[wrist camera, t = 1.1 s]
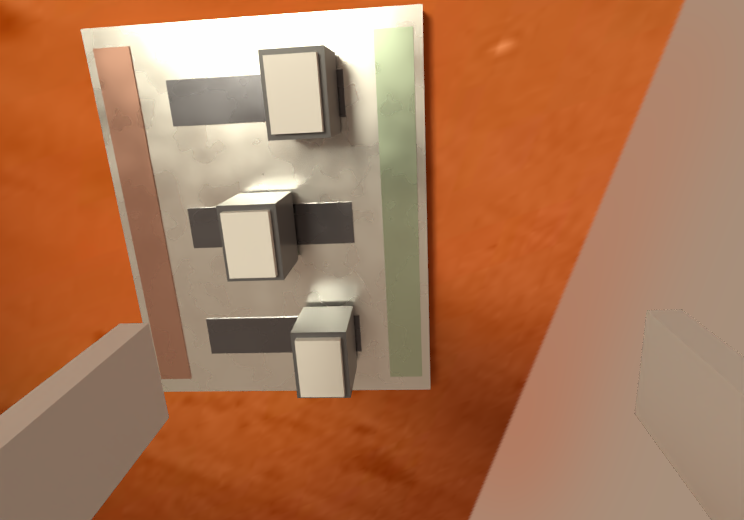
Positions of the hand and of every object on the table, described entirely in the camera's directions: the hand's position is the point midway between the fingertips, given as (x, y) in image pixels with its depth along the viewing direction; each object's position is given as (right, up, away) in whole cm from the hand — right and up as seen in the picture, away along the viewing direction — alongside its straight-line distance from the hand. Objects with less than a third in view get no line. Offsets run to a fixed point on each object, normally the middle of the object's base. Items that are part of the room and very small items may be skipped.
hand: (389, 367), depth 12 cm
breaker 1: (-6, +4, +16) cm, 18 cm away
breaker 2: (-4, +11, +14) cm, 18 cm away
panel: (-6, +5, +18) cm, 20 cm away
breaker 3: (-3, -2, +18) cm, 18 cm away
